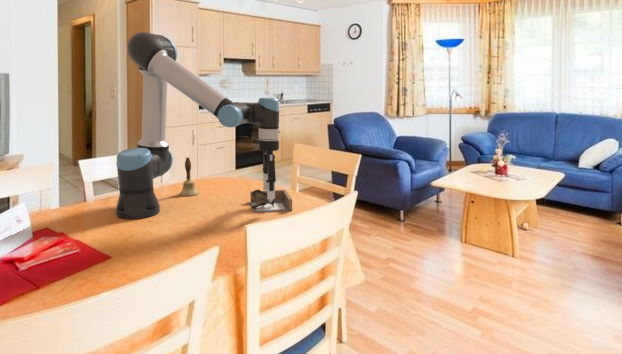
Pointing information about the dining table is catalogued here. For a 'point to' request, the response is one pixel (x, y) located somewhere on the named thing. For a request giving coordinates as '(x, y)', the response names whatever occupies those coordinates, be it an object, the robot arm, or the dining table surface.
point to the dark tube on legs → (262, 196)
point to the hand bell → (188, 182)
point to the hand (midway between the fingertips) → (268, 194)
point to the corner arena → (281, 203)
